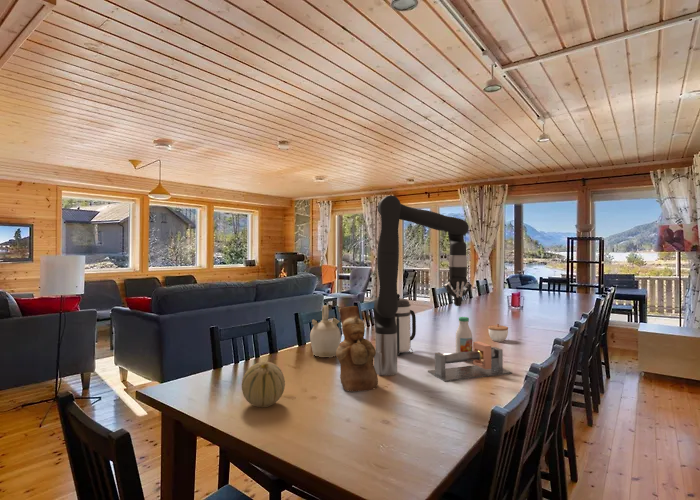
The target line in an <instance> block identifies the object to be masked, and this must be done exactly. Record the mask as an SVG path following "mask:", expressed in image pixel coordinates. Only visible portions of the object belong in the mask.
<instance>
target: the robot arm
mask: <svg viewBox="0 0 700 500" xmlns="http://www.w3.org/2000/svg"><path fill="white" fill-rule="evenodd" d="M376 208H377V212H378V214H379V215H380V223H381V224H380V225H381V226H380V232H379V233H380V234H379V238H378V243H377V248H376V249H377V250H376V252H377V253H376V266H377V274H378V281H379V282H378V283H379V288H378V289H379V291H378V296H377V297H376V298H375V299H374V305H373V315H374V317H373V318H374V328H375V329H374V330H375V331H374V333H375V339H374V340H375V350H376V354H375V356H374V358H373V365H374V368H375V371H376V374H377V376H386V377H387V376H395V375H397V374H398V356H397V325H396V320H395V314H396V312H397V310H398V298H397V294H398V275H399V263H400V259H399V258H400V240H399V239H400V237H399V226H400V221H401V220H402V221H404V222H405V221H406V222H410V223H413V224H417V225H420V226H423V227H425V228H428V229H432V230H436V231H439V232H440V231H443V232H446V233H447V236H448V242H449V258H448V259H449V260H448V276H449V279H448V282H447V283H445V284H443V287H444V288H445V290H446V291H447V293H448V294H449V295H450V296H451V297H453V304H454V306H455V307H461V305H462V301H463V300H462V298H463V297H465V296H466V295H467V294H468V292H469V291H470V290H471V288H472V286H473V285H472V284H471V283H469V281H468V279H467V276H468V259H467V258H468V257H467V243H466V242H465V240H464V239H465V238H464V236H465V235H466V234H467V233H468V232H469V228H470V226H469V223H468V222H467V221H466V220H464V219H462V218H459V217H454V216H448V215H444V214H443V213H442V214H441V213H438V212H434V211H433V210H432V211H431V210H426V209H423V208H421V209H420V208H415V207H411V206H409V205H405V204H403V203H401V201H400V199H399V198H398V197H397V196H396V195H386V196H384V197H382V198H381V200H379V202H378V204H377V207H376Z"/></svg>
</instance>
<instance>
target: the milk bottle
mask: <svg viewBox="0 0 700 500" xmlns="http://www.w3.org/2000/svg"><path fill="white" fill-rule="evenodd" d="M469 321H470V319H469V317H468V316H459V317H458V322H459V325H458V327H457V329H456V332H455V353H458V352H468V351H473V333H472V330H471V328H470V325H469V323H470V322H469Z"/></svg>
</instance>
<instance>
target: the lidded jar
mask: <svg viewBox="0 0 700 500" xmlns="http://www.w3.org/2000/svg"><path fill="white" fill-rule="evenodd" d="M488 335H489V338H490V339H491V340H492V341H493V342H500V343H501V342H504V341H505V340H506V339H507V337H508V335H509V327H508V326H506V325H500V324H499V323H497V324H494V325H488Z"/></svg>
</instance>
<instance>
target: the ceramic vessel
mask: <svg viewBox="0 0 700 500" xmlns="http://www.w3.org/2000/svg"><path fill="white" fill-rule="evenodd" d="M339 315H340V322H341V330H342V334H343V336H344V337H343V338H344V339H343V341H340V344H339V346H338V348H337V351H336V356H335V357H336V359H337V360H338V362H339V366H340V370H339V371H340V372H339V373H340V375H339V378H340V379H339V380H340V384H341V386H342V388H343V389H344V390H345V391H347V392H364V391H365V392H366V391H371V390H374V389H376V388H377V387H378V384H379V378H378V374H377V373H376V371H375V368H374V356H375V354H376V350H375V349H376V347H375V346H374V345H373V343H372V342H371V341H370V340H369V339H366V338H365V332H366V328H365V322H364V321H363V320H362V319H361V317H360V310H359V307H358V306H357V305H352V306H344V307H341V308H339Z"/></svg>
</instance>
